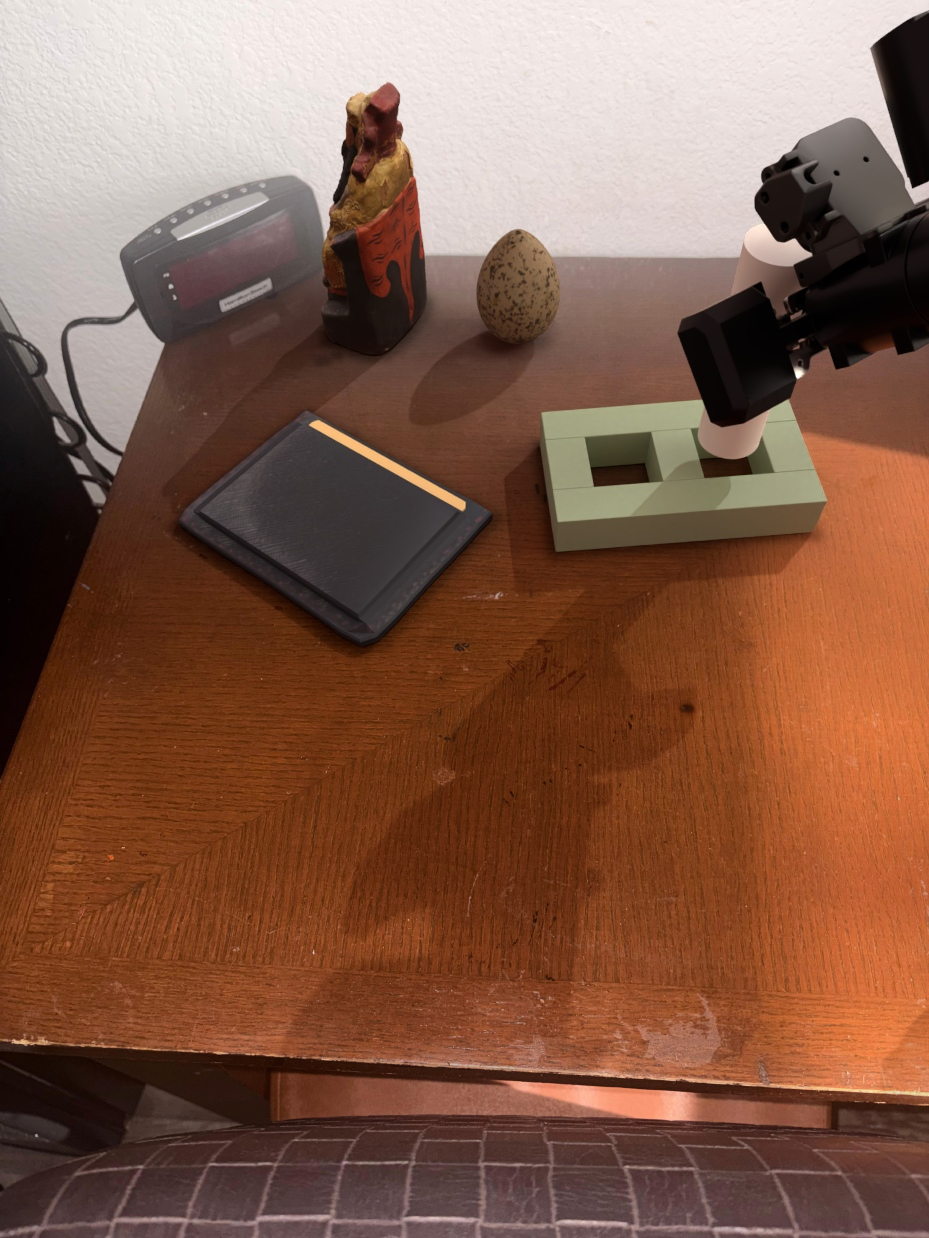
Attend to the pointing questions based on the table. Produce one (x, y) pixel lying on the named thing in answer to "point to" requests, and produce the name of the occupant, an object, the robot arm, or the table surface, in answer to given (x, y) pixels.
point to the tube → (779, 281)
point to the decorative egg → (518, 288)
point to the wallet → (335, 526)
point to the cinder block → (671, 479)
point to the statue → (374, 232)
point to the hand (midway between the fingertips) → (738, 339)
